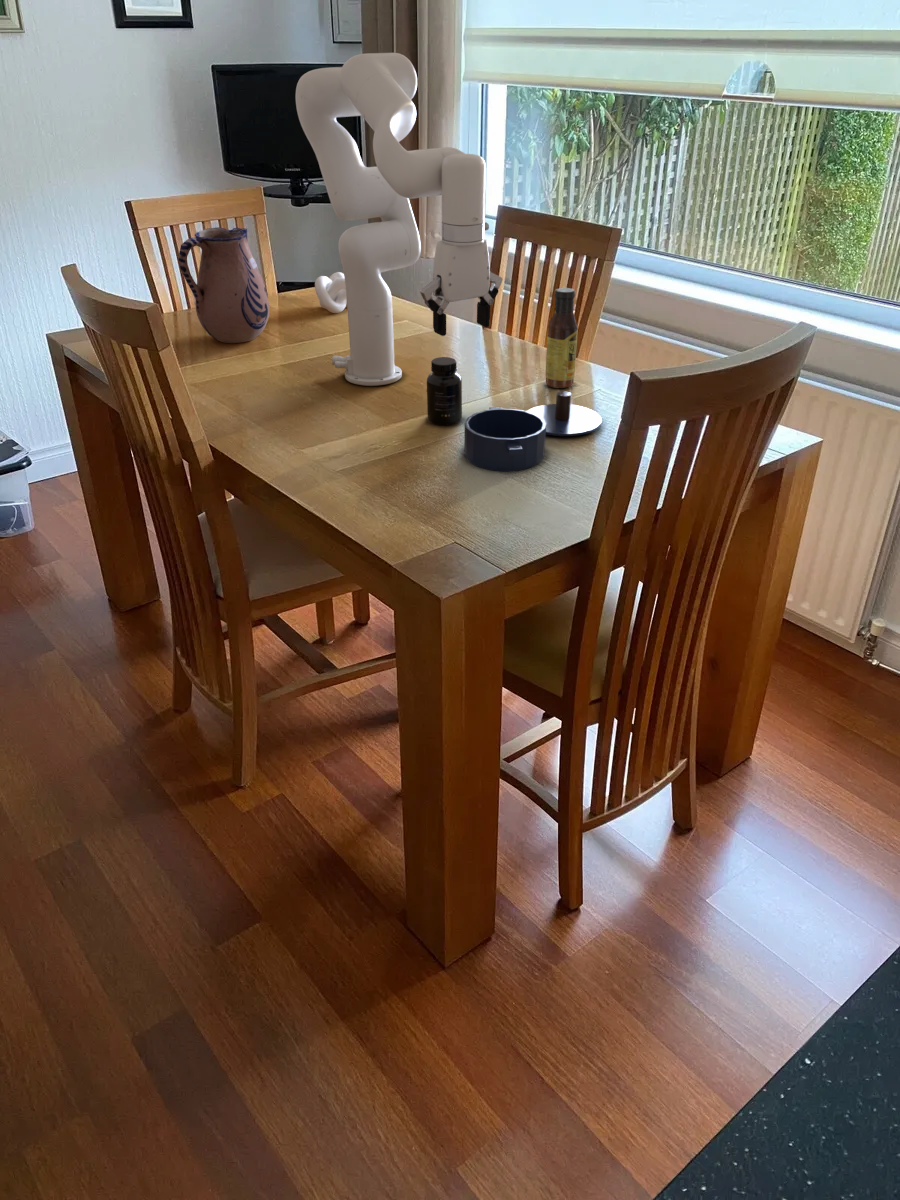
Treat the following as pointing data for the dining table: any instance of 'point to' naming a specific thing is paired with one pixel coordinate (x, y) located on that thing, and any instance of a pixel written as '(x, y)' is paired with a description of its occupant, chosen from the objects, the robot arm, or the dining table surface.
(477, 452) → the pan
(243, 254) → the ceramic pitcher
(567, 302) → the sauce bottle
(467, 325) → the dining table surface
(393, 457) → the dining table surface
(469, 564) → the dining table surface
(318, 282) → the white knot sculpture
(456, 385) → the supplement bottle
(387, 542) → the dining table surface
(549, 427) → the pan lid
